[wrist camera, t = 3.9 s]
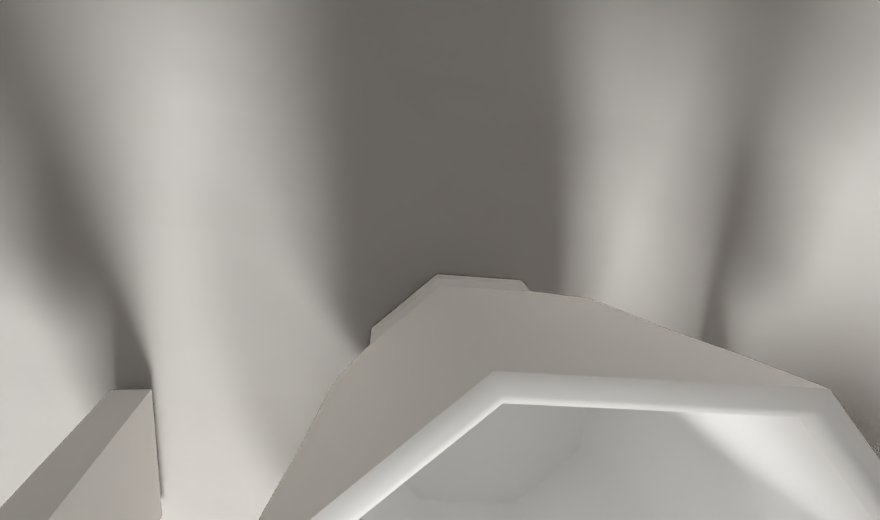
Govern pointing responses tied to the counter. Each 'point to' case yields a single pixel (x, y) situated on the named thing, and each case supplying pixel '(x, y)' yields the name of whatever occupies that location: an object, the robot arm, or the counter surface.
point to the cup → (567, 422)
